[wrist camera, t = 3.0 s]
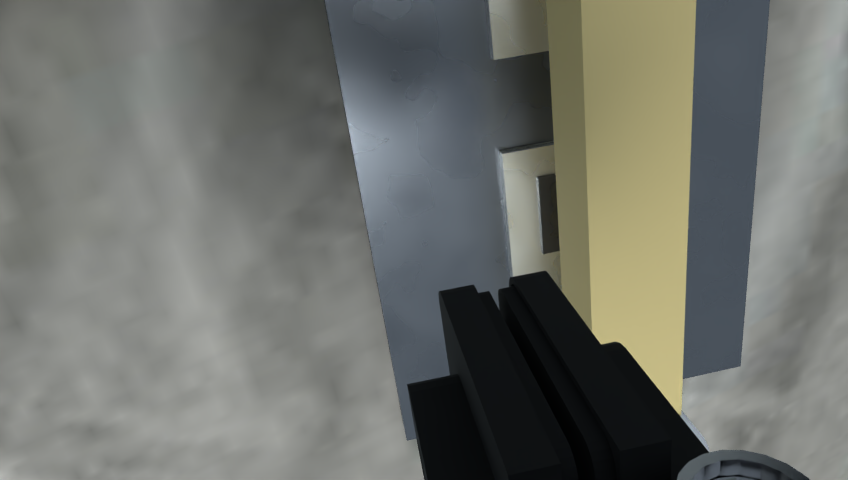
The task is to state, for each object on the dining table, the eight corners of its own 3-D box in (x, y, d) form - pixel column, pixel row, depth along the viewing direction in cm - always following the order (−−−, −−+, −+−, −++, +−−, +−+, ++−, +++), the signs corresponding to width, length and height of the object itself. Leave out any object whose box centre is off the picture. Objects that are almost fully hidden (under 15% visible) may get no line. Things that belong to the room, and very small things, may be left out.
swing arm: (502, -140, 16) (545, -160, 13) (673, -165, 16) (749, -188, 14) (547, 474, 24) (579, 542, 21) (660, 447, 25) (706, 511, 22)
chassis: (273, -269, 17) (266, -319, 14) (772, -327, 19) (869, -385, 15) (407, 443, 27) (420, 507, 24) (725, 371, 29) (777, 424, 25)
